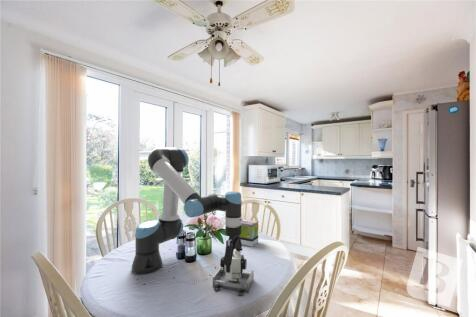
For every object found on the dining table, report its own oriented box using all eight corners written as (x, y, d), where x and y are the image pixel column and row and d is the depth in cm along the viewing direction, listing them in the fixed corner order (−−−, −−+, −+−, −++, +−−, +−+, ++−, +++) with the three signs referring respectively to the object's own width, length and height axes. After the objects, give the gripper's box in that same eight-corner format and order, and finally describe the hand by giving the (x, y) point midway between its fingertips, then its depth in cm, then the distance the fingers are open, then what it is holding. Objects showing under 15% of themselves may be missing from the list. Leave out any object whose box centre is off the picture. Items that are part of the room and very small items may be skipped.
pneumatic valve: (245, 284, 97) (244, 257, 98) (220, 281, 100) (220, 255, 100) (247, 277, 103) (247, 252, 103) (223, 275, 105) (223, 250, 106)
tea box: (258, 242, 150) (258, 221, 150) (251, 247, 142) (251, 224, 142) (240, 238, 158) (240, 218, 158) (232, 242, 150) (232, 221, 150)
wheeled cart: (210, 290, 95) (210, 280, 95) (221, 274, 108) (221, 265, 108) (246, 297, 91) (246, 286, 91) (253, 280, 103) (253, 270, 103)
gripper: (232, 235, 88) (233, 287, 88) (247, 218, 112) (247, 260, 112) (215, 233, 90) (215, 284, 90) (233, 217, 114) (234, 258, 114)
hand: (233, 271), depth 101 cm, fingers open, 13 cm apart
